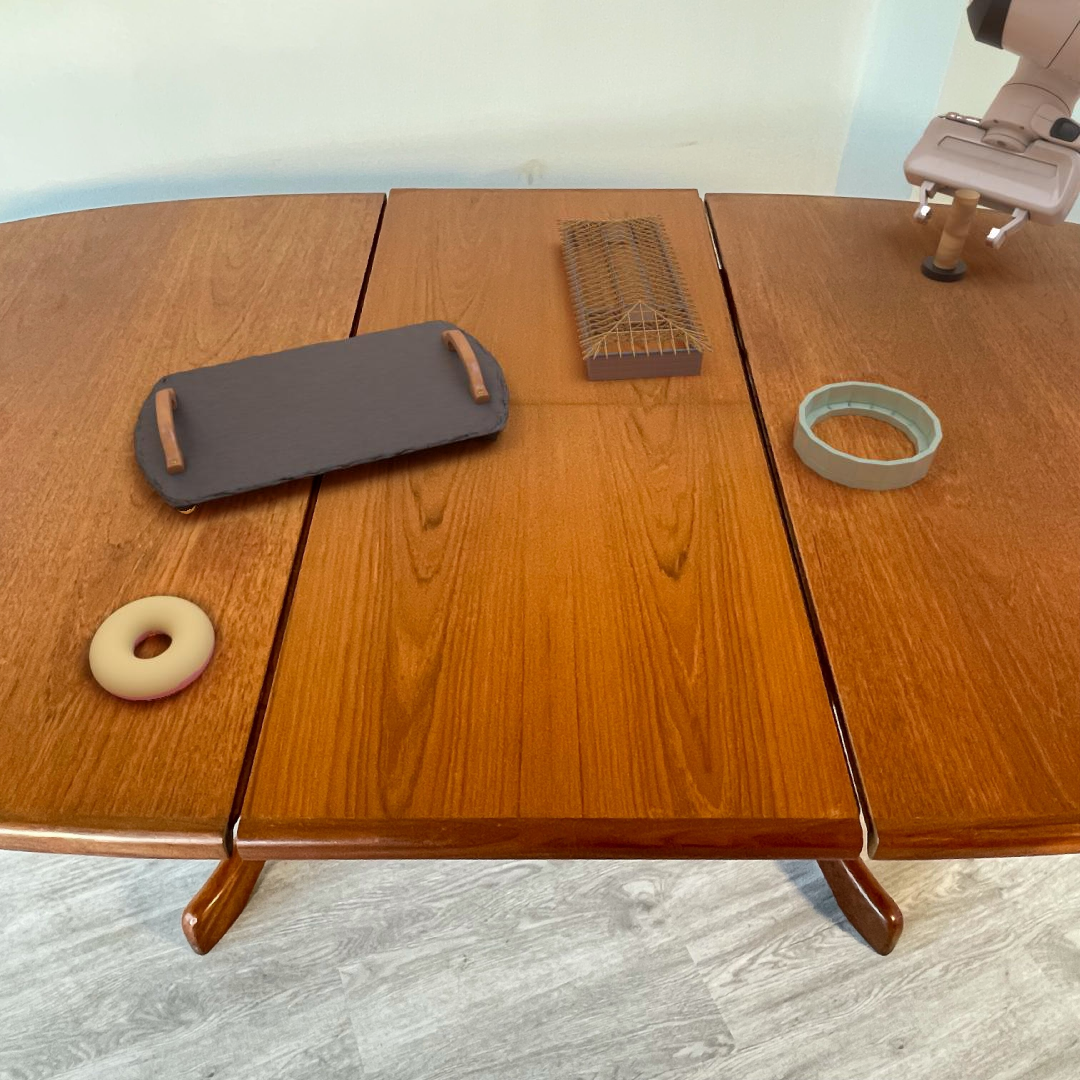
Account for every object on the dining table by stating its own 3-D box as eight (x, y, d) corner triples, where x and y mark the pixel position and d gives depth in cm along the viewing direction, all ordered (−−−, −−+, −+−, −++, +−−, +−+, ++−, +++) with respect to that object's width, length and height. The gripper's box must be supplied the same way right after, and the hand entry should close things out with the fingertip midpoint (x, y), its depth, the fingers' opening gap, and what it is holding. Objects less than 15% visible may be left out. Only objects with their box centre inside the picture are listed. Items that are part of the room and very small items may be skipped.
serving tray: (146, 536, 82) (123, 486, 78) (138, 401, 98) (118, 353, 93) (535, 442, 91) (533, 392, 87) (470, 332, 107) (466, 285, 102)
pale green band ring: (919, 428, 92) (933, 388, 88) (933, 512, 82) (950, 471, 79) (789, 415, 94) (798, 375, 90) (789, 496, 85) (799, 455, 81)
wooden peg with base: (956, 278, 114) (987, 186, 106) (961, 297, 111) (994, 204, 102) (914, 274, 115) (942, 183, 107) (918, 294, 111) (947, 201, 103)
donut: (197, 618, 78) (84, 657, 73) (186, 575, 75) (68, 612, 71) (236, 679, 71) (114, 727, 66) (226, 634, 68) (98, 680, 64)
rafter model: (709, 378, 99) (716, 330, 95) (582, 385, 98) (583, 337, 94) (658, 238, 124) (661, 195, 120) (556, 243, 123) (556, 200, 119)
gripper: (935, 94, 108) (873, 196, 111) (1105, 136, 98) (1033, 248, 100) (942, 122, 114) (882, 219, 116) (1104, 165, 103) (1036, 271, 105)
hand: (954, 233), depth 108 cm, fingers open, 8 cm apart
